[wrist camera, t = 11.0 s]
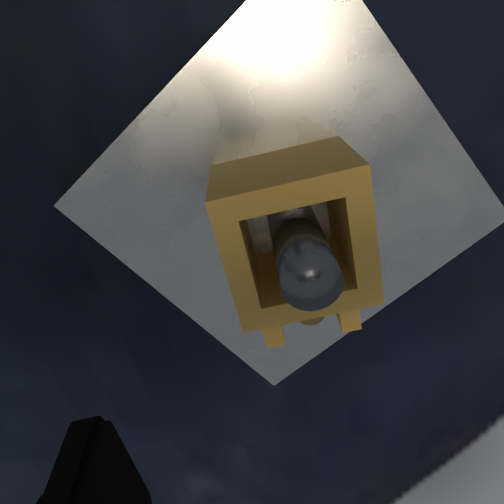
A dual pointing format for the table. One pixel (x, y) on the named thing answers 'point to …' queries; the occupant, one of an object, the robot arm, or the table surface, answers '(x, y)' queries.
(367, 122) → the post base
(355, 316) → the yellow hollow square block
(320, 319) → the dowel
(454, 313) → the table surface
